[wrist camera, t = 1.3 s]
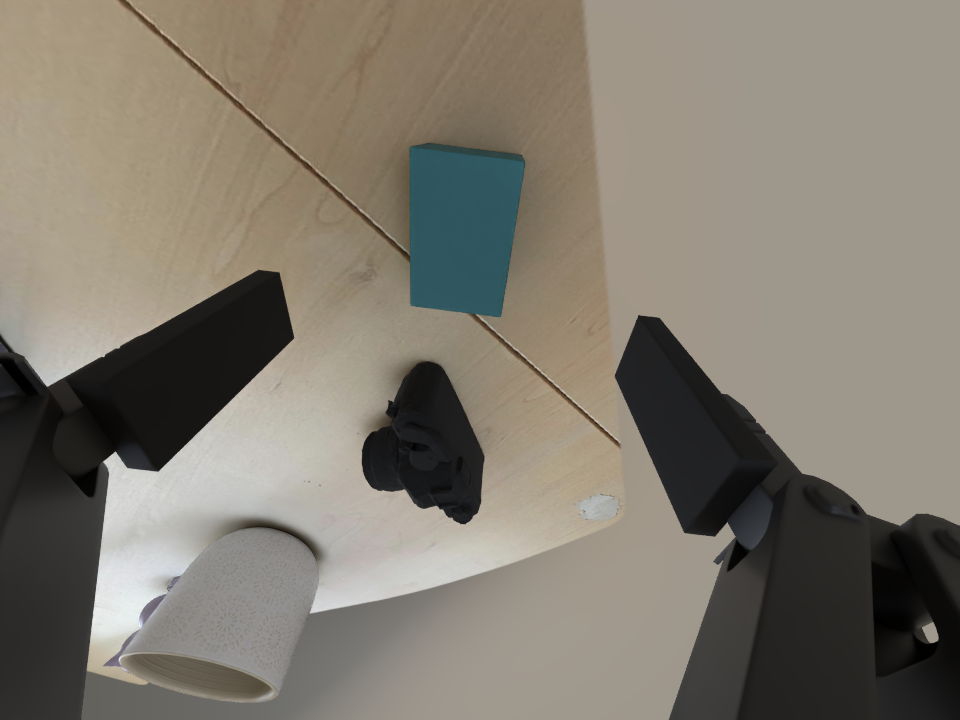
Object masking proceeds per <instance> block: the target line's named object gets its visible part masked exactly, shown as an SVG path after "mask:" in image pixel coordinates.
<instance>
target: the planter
mask: <svg viewBox="0 0 960 720" xmlns="http://www.w3.org/2000/svg"><path fill="white" fill-rule="evenodd" d="M318 581H319V571H318V566H317V562H316V560H315V558H314V556H313V554H312V552H311V551H310V549H309V548H308V547H307V546H306V545H305V544H304V543H303V542H302V541H300V540H299V539H297V538H296V537H294V536H292V535H290V534H288V533H285V532H282V531H279V530H275V529H271V528H263V527H255V528H246V529H242V530H238V531H234V532H231V533H229V534H226V535H224V536H222V537H220V538H219V539H217V540H215V541H214V542H213V543H211V544H210V545H209V546H208V547H207V548H206V549H204V550H203V551H202V552H201V554H200V555H199V556H198V557H197V558H196V559H195V560H194V561H193V562H192V563H191V565H190V566H189V567H188V568H187V570H186V571H185V572H184V573H183V574H182V576H181V577H180V578H179V579H178V581H177V582H176V583H175V585H174V586H173V587H172V588H171V590H170V591H169V592H168V594H167V595H166V596H165V597H164V599H163V600H162V601H161V603H160V604H159V605H158V607H157V608H156V609H155V611H154V612H153V613H152V614H151V616H150V617H149V618H148V620H147V621H146V622H145V624H144V625H143V626H142V627H141V629H140V630H139V631H138V633H137V634H136V635H135V637H134V638H133V639H132V641H131V642H130V643H129V645H128V646H127V647H126V649H125V650H124V652H123V653H122V654H121V656H120V658H119V662H120V664H121V666H122V667H123V668H124V669H125V670H127V671H128V672H130V673H131V674H133V675H135V676H137V677H139V678H141V679H143V680H145V681H147V682H150V683H153V684H155V685H158V686H161V687H164V688H167V689H171V690H174V691H178V692H181V693H185V694H189V695H194V696H198V697H203V698H209V699H215V700H222V701H230V702H263V701H268V700H272V699H274V698H275V697H276V696H277V695H278V693H279V691H280V689H281V687H282V684H283V682H284V679H285V676H286V674H287V671H288V669H289V666H290V663H291V661H292V658H293V656H294V653H295V650H296V648H297V645H298V643H299V640H300V637H301V635H302V632H303V630H304V627H305V624H306V622H307V619H308V616H309V613H310V610H311V608H312V605H313V602H314V598H315V595H316V591H317V587H318Z"/></svg>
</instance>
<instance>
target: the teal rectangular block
mask: <svg viewBox="0 0 960 720" xmlns="http://www.w3.org/2000/svg"><path fill="white" fill-rule="evenodd" d="M524 168H525V161H524V159H523V157H522V155H518V154H510V153H503V152H495V151H487V150H480V149H472V148H464V147H456V146H449V145H441V144H433V143H426V144H421V145H416V146H411V147H410V304H411V306H416V307H424V308H432V309H440V310H448V311H455V312H463V313H471V314H479V315H487V316H494V317H501V314H502V307H503V301H504V295H505V288H506V282H507V276H508V269H509V263H510V257H511V250H512V244H513V238H514V231H515V225H516V219H517V212H518V206H519V200H520V193H521V187H522V181H523V174H524Z"/></svg>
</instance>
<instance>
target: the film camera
mask: <svg viewBox="0 0 960 720" xmlns="http://www.w3.org/2000/svg"><path fill="white" fill-rule="evenodd" d="M388 402H389V405H388V409H387V410H386V414H387V415H388V416H389V417H390V418H391V419H392V420H393V421H392V426H386V427H382V428H380V429H379V430H378V431H374V432H371V433H370V435H369V436H368V437H367V438H366V440H365V442H364V445H363V449H362V467H363V473H364V476H365V478H366V480H367V481H368V483H369V485H370V486H371V487H372V488H374V489H377V490H378V491H382V490H384V491H391V492H393V491H399V490H402V489H405V490H406V491H407V493H408V494H409V496H410V497H411V499H412V501H413V502H414V504H416V505H417V506H418V507H420V508H422V509H426V508H429V507H433V506H438V507H439V509H443V510H444V512H445V514H446V515H447V516H448V517H449V518H453V520H454V521H456V522H458V523H460V524H466V523H467V522H469V521H471V519H472V518H473V516H474V515H475V514H477V513H478V511H479V507H480V504H481V488H482V474H483V463H484V455H483V453H482V450H481V448H480V447H479V444H478V441H477V439H476V436H475V434H474V432H473V430H472V428H471V425H470V423H469V421H468V419H467V416H466V414H465V412H464V410H463V408H462V405H461V403H460V401H459V399H458V397H457V395H456V392H455V390H454V389H453V387H452V385H451V383H450V381H449V379H448V377H447V375H446V373H445V371H444V370H443V368H442V367H441V366H439V365H437V364H434V363H431V362H425V363H420V364H418V365H417V366H416V367H414V368H413V369H412V370H411V372H410V373H409V374H408V375H407V376H406V377H405V378H404V379H403V382H402V384H401V386H400V388H399V390H398V392H397V395H396V397H395V400H394V402H392V401H389V400H388Z"/></svg>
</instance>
